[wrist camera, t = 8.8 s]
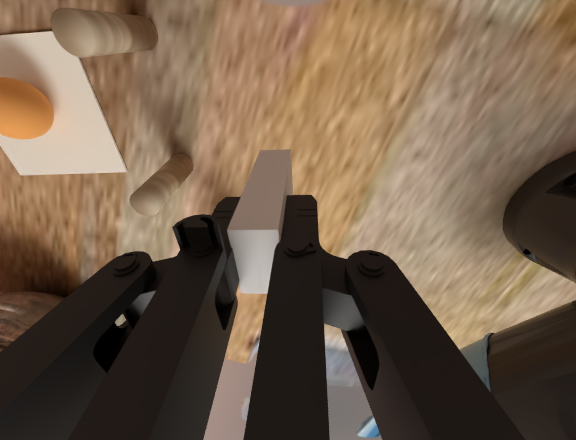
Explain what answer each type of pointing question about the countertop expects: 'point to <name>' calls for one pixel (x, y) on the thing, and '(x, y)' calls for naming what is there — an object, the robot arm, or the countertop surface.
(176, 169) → the post
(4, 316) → the cooking pot
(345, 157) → the countertop surface
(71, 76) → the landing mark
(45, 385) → the robot arm
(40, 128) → the ball
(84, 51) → the post
